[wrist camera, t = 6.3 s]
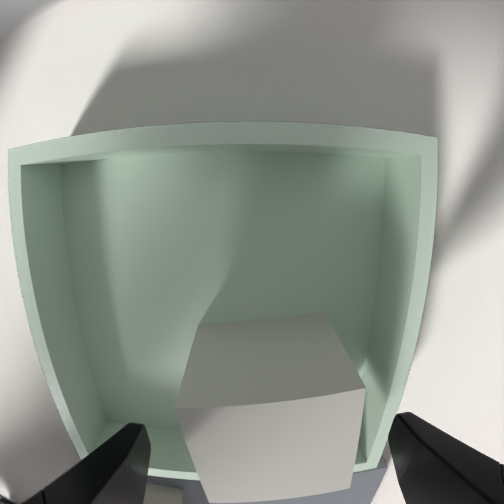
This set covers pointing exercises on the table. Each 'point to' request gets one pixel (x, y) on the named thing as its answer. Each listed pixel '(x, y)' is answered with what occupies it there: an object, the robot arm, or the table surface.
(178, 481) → the slate board
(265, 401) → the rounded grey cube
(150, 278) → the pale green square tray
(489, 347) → the table surface
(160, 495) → the grey stone cube
